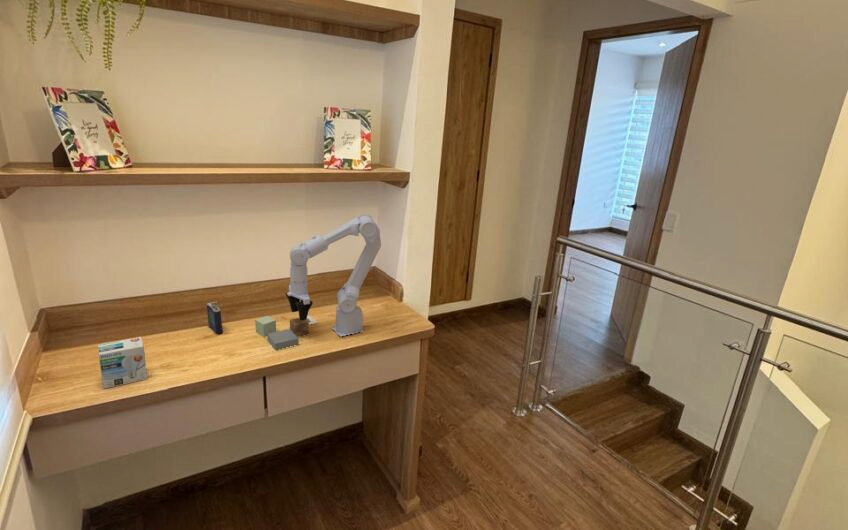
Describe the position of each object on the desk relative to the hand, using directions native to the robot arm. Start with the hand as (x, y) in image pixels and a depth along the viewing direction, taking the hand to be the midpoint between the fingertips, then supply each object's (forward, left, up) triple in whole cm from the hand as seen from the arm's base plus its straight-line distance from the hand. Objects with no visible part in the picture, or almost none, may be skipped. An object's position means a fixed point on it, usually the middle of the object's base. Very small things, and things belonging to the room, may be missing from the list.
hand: (298, 315), depth 161 cm
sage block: (+10, -6, -7) cm, 14 cm away
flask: (+24, -16, -7) cm, 30 cm away
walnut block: (0, 0, -7) cm, 7 cm away
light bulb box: (+53, +4, -7) cm, 54 cm away
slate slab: (+7, +4, -8) cm, 11 cm away
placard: (-6, -8, -7) cm, 12 cm away
